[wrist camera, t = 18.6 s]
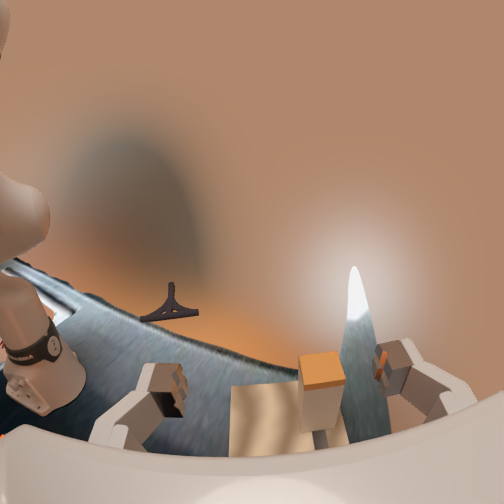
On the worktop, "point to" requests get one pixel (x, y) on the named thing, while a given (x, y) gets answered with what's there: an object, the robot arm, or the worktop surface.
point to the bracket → (170, 309)
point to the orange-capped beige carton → (319, 390)
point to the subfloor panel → (274, 423)
